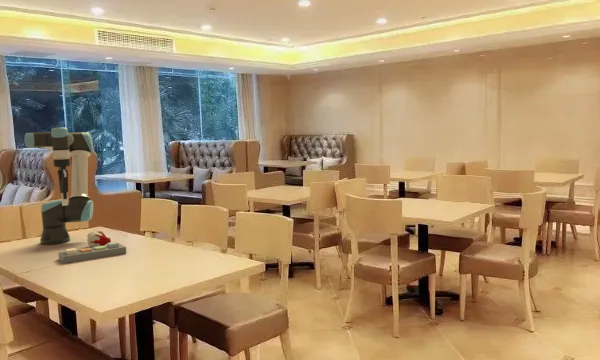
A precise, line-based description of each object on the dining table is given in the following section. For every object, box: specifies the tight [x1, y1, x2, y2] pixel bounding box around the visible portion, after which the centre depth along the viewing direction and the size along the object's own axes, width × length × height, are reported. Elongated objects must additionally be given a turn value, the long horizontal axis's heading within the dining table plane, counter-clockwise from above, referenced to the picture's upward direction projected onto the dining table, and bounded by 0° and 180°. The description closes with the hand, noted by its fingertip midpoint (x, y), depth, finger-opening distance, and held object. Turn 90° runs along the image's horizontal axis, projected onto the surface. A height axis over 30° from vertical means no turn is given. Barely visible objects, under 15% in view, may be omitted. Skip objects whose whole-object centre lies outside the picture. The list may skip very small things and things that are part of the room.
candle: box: [87, 229, 112, 248], centre depth 269 cm, size 9×11×15 cm
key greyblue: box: [106, 241, 119, 248], centre depth 255 cm, size 4×4×3 cm
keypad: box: [58, 242, 127, 264], centre depth 249 cm, size 11×29×3 cm, turn 126°
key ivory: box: [64, 247, 78, 255], centre depth 244 cm, size 4×4×3 cm
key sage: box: [94, 245, 105, 251], centre depth 251 cm, size 4×4×3 cm
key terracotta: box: [79, 247, 92, 253], centre depth 247 cm, size 4×4×3 cm
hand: (65, 205), depth 256 cm, fingers closed
